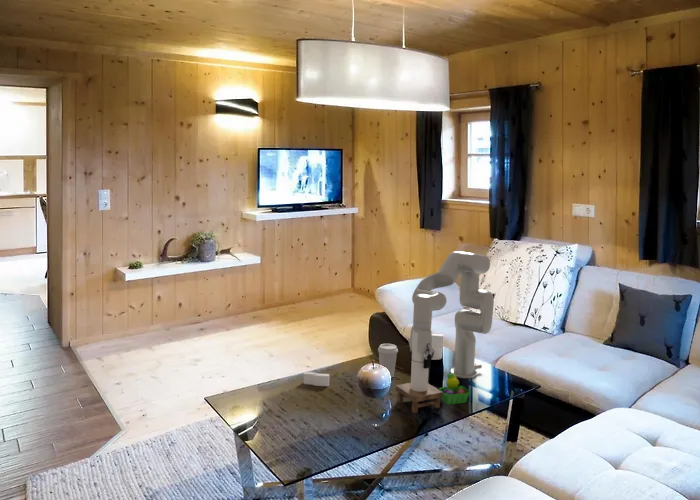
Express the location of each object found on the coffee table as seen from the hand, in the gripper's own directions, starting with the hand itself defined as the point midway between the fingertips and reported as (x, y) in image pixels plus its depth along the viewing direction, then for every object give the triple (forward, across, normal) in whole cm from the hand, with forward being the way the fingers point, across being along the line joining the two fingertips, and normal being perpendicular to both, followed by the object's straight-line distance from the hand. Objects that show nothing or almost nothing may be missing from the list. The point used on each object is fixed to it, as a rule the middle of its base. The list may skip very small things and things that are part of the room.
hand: (420, 364), depth 237 cm
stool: (+18, 0, 0) cm, 18 cm away
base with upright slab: (+18, -46, +41) cm, 64 cm away
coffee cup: (+18, -32, +4) cm, 37 cm away
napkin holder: (+19, -38, -30) cm, 52 cm away
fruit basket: (+18, +3, +16) cm, 24 cm away
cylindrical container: (+11, 0, 0) cm, 11 cm away
